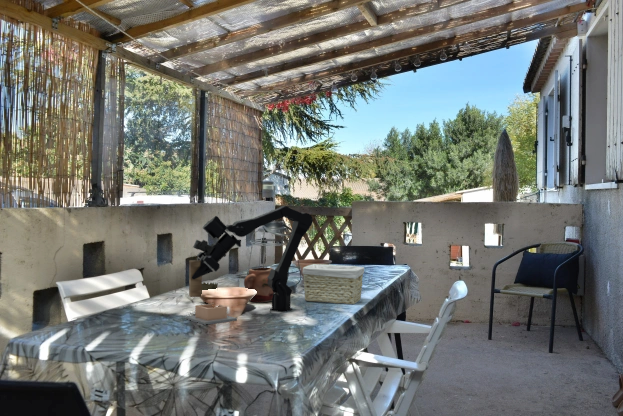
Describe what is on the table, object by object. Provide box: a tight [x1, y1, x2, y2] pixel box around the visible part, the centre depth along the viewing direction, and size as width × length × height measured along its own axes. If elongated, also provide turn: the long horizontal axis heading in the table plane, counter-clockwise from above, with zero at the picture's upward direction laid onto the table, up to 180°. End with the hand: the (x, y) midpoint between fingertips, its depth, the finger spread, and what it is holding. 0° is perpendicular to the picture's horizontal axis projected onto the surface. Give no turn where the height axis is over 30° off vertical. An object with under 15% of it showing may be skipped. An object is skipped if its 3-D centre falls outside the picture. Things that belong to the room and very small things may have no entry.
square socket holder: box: [185, 303, 238, 326], centre depth 213 cm, size 13×13×5 cm
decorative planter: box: [244, 267, 275, 303], centre depth 252 cm, size 20×12×14 cm, turn 152°
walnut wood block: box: [188, 259, 203, 298], centre depth 222 cm, size 4×4×13 cm
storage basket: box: [302, 263, 365, 305], centre depth 257 cm, size 24×16×15 cm
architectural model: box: [234, 273, 248, 287], centre depth 286 cm, size 20×25×10 cm
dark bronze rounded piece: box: [202, 282, 219, 290], centre depth 248 cm, size 8×7×8 cm
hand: (191, 277), depth 222 cm, fingers closed on walnut wood block, 4 cm apart
